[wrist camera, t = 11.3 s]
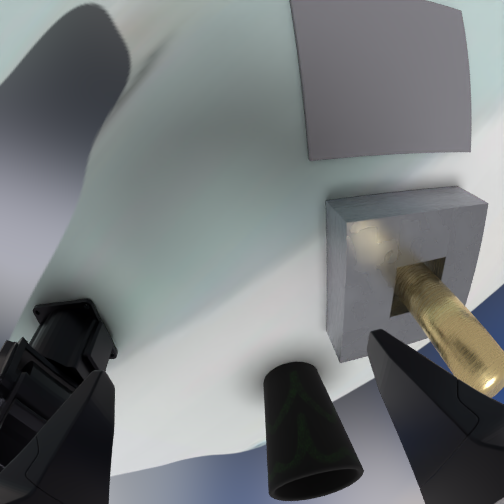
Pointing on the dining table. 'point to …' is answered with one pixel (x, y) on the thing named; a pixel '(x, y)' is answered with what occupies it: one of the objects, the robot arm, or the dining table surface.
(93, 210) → the dining table surface
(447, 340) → the pin
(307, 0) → the mat
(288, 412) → the cup
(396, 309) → the grey square hole block
